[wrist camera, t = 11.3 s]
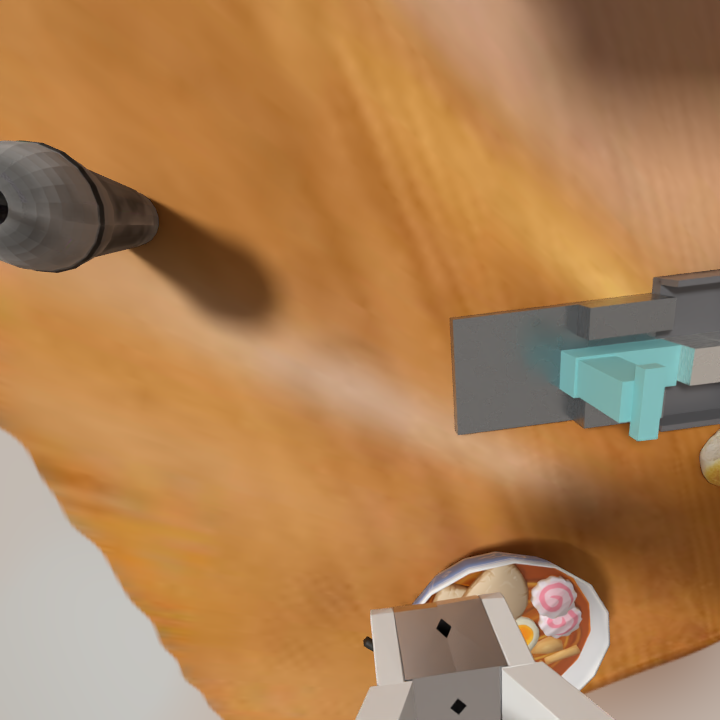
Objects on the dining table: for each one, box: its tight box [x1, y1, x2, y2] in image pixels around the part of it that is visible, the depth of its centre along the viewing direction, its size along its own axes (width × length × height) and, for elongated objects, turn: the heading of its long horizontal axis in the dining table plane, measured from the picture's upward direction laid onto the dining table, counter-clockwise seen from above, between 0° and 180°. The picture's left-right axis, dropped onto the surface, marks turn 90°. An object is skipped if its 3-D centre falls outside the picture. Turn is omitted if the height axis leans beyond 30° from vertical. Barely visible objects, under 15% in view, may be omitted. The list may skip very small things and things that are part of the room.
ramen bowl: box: [363, 552, 610, 691], centre depth 45 cm, size 25×23×8 cm
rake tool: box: [560, 339, 681, 441], centre depth 36 cm, size 6×10×10 cm, turn 96°
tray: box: [652, 269, 720, 432], centre depth 40 cm, size 15×9×3 cm, turn 6°
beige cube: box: [661, 334, 720, 386], centre depth 39 cm, size 4×4×4 cm
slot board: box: [450, 293, 677, 435], centre depth 40 cm, size 12×20×3 cm, turn 96°
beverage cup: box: [0, 141, 159, 273], centre depth 25 cm, size 7×7×20 cm
